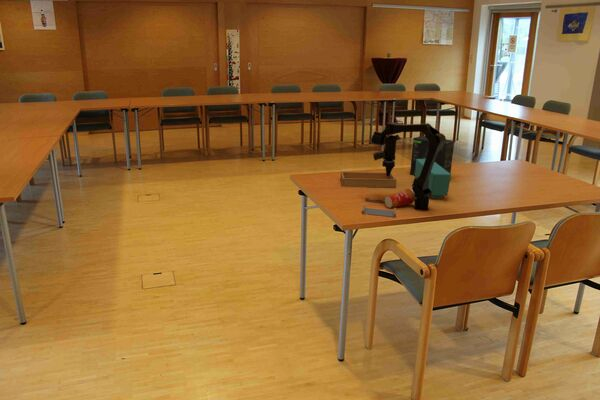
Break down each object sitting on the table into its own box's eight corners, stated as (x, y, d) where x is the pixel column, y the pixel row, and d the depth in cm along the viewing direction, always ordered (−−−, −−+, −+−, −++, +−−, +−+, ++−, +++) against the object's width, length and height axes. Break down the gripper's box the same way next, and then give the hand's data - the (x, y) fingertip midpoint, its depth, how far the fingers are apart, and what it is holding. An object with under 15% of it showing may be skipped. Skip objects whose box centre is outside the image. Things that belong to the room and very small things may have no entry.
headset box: (408, 174, 328) (413, 134, 320) (418, 171, 337) (422, 132, 329) (441, 182, 314) (447, 140, 306) (450, 178, 323) (455, 137, 315)
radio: (449, 200, 279) (453, 174, 274) (430, 200, 278) (433, 173, 274) (430, 183, 311) (433, 158, 307) (413, 182, 310) (415, 158, 306)
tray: (342, 187, 297) (343, 177, 295) (340, 180, 311) (340, 171, 310) (395, 189, 298) (396, 179, 296) (390, 181, 312) (391, 172, 311)
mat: (395, 211, 259) (396, 208, 258) (395, 217, 250) (396, 213, 250) (363, 208, 261) (363, 204, 261) (361, 214, 253) (361, 210, 252)
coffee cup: (383, 191, 264) (406, 185, 271) (383, 206, 268) (405, 200, 275) (394, 197, 258) (417, 191, 265) (393, 212, 261) (416, 205, 268)
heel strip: (395, 203, 271) (396, 200, 270) (395, 204, 269) (396, 201, 269) (365, 200, 273) (365, 197, 273) (365, 201, 272) (365, 198, 272)
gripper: (375, 142, 278) (373, 170, 283) (373, 149, 261) (371, 179, 266) (396, 144, 277) (393, 172, 281) (396, 151, 259) (393, 181, 264)
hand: (387, 176), depth 273 cm, fingers closed
